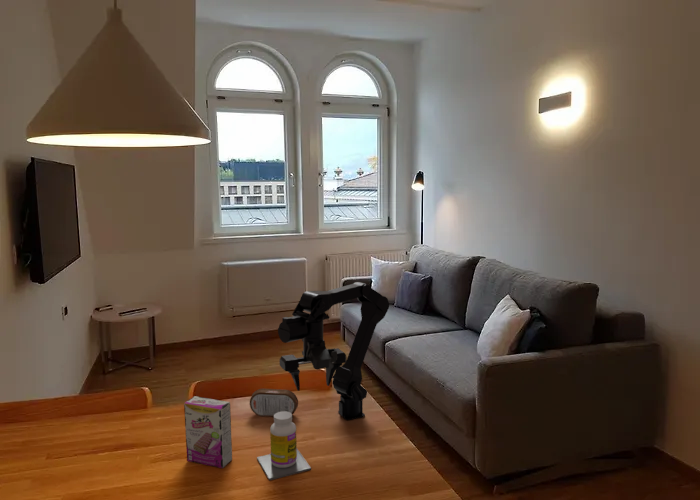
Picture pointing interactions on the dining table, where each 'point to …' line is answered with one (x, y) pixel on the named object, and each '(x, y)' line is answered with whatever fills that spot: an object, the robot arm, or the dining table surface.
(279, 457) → the supplement bottle
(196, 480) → the dining table surface
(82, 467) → the dining table surface
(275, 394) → the tin
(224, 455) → the candy bar box
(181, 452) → the dining table surface
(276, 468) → the slate coaster
